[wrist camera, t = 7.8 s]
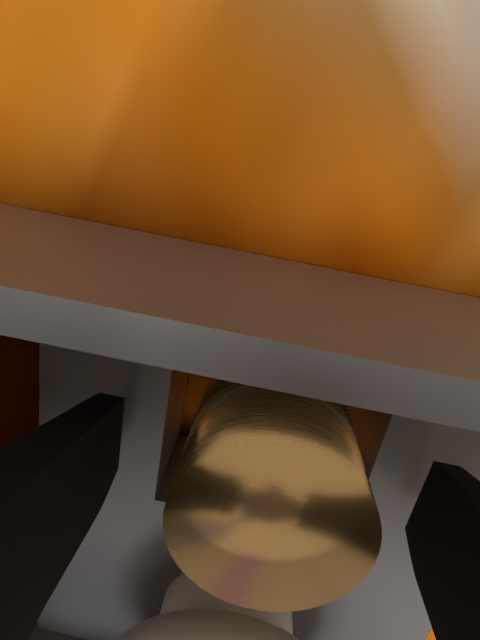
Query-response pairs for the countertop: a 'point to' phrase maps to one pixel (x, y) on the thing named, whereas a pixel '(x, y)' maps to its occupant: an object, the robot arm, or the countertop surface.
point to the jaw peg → (271, 500)
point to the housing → (240, 367)
